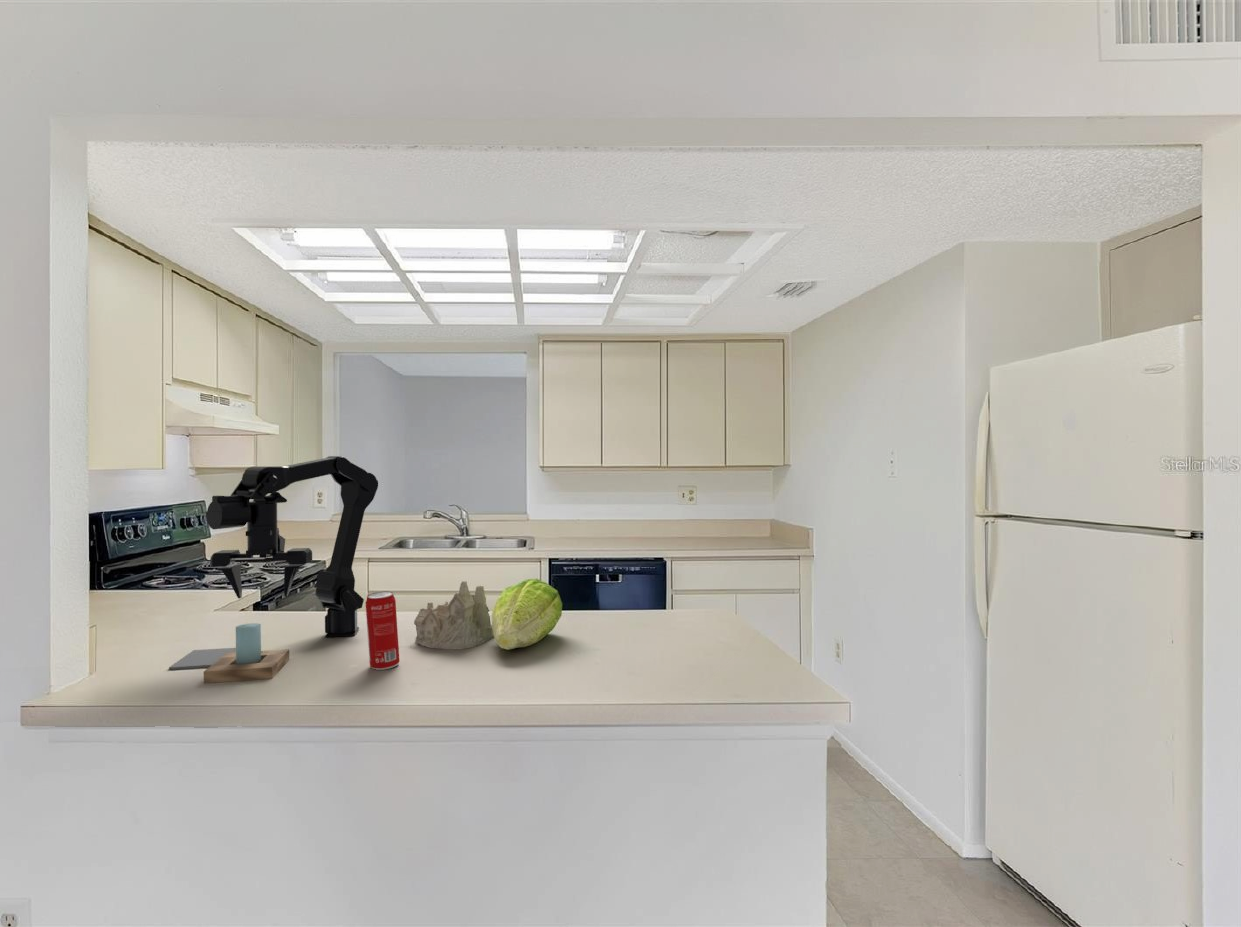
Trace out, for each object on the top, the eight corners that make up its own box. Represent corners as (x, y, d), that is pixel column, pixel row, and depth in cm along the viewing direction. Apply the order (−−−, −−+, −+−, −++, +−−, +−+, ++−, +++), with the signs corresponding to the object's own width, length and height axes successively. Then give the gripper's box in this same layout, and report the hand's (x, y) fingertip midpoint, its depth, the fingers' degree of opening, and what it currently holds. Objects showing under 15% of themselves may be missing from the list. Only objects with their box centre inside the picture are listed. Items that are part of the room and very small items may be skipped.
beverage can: (405, 663, 139) (404, 591, 139) (384, 673, 133) (383, 597, 133) (381, 660, 141) (380, 589, 141) (360, 669, 135) (359, 595, 134)
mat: (253, 648, 149) (253, 646, 149) (234, 665, 138) (234, 663, 138) (193, 652, 147) (193, 650, 147) (168, 669, 135) (168, 667, 135)
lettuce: (460, 627, 142) (517, 596, 138) (499, 588, 165) (548, 560, 162) (495, 684, 143) (553, 654, 139) (529, 637, 166) (579, 611, 163)
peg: (264, 666, 137) (263, 622, 137) (257, 673, 133) (256, 628, 133) (240, 668, 136) (240, 624, 136) (232, 675, 132) (232, 629, 132)
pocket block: (289, 659, 142) (289, 649, 142) (272, 678, 130) (272, 667, 130) (227, 663, 139) (226, 653, 139) (203, 683, 127) (203, 671, 127)
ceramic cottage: (505, 634, 160) (500, 571, 160) (458, 655, 146) (453, 587, 146) (455, 630, 168) (450, 570, 167) (406, 650, 153) (400, 585, 153)
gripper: (318, 520, 154) (318, 588, 154) (229, 521, 150) (229, 591, 150) (305, 525, 143) (305, 598, 143) (208, 527, 139) (209, 602, 139)
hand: (263, 597), depth 144 cm, fingers open, 9 cm apart
